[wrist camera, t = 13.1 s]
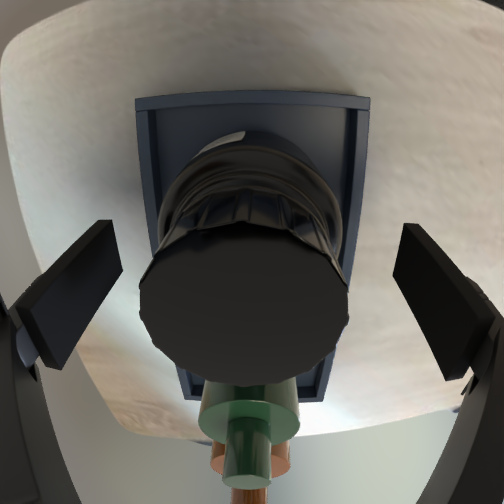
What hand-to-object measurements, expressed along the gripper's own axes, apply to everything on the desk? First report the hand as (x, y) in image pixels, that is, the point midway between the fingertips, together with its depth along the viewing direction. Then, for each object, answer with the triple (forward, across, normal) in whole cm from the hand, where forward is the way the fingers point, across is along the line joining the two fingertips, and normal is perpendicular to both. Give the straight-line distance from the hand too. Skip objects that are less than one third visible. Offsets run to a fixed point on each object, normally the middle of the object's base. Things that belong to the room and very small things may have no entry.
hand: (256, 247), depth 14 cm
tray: (+8, 0, -7) cm, 10 cm away
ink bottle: (+8, 0, 0) cm, 8 cm away
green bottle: (+7, 0, -10) cm, 12 cm away
